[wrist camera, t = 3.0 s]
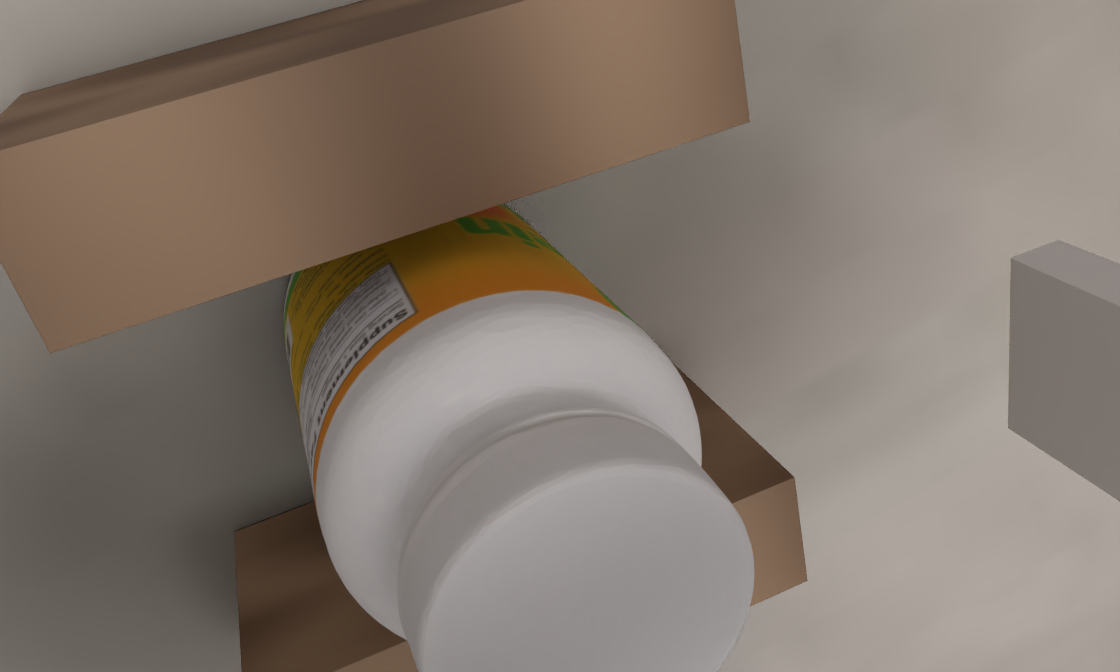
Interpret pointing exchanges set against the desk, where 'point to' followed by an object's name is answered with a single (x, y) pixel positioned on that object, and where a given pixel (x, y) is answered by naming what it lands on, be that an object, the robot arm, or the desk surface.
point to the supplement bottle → (509, 460)
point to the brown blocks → (357, 208)
